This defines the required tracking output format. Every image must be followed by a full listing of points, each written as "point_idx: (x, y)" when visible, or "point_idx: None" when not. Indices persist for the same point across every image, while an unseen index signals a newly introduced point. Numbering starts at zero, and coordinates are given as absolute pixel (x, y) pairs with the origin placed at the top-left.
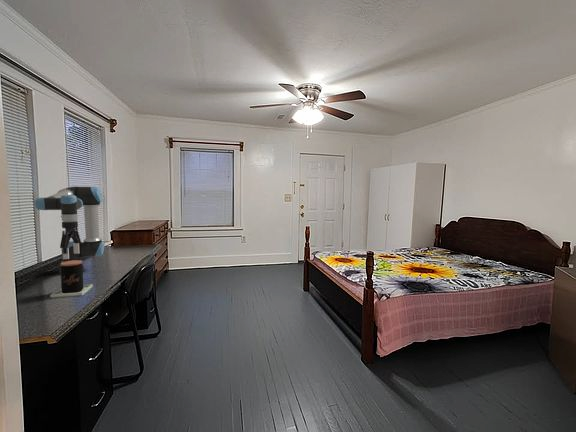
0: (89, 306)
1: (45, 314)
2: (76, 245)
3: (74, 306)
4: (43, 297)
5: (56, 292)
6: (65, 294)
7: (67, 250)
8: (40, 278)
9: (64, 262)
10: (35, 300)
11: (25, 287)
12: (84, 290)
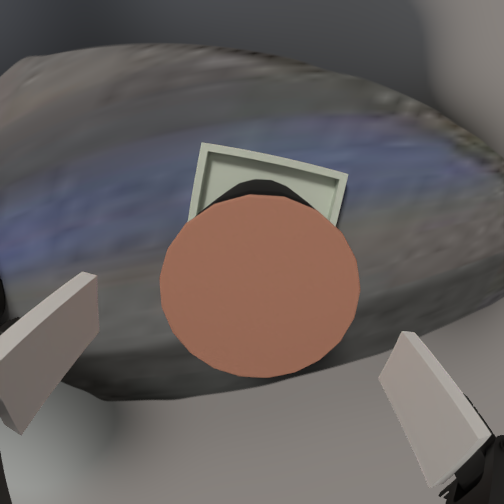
0: (475, 144)
1: (475, 268)
2: (25, 372)
3: (458, 192)
4: None
5: None
6: None
7: (467, 412)
8: None
9: (241, 356)
10: None
11: (126, 393)
12: (313, 167)
